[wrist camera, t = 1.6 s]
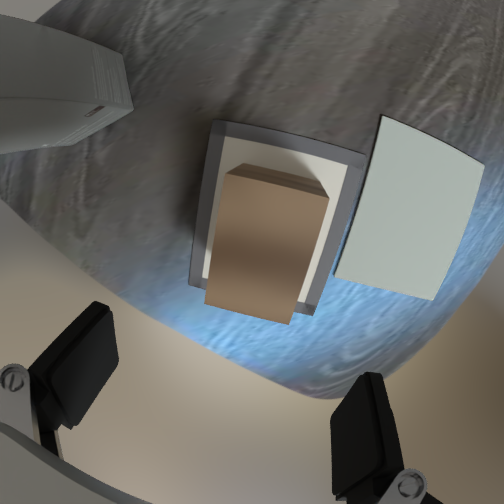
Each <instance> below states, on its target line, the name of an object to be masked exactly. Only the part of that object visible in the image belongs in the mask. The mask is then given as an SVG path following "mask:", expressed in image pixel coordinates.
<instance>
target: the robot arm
mask: <svg viewBox="0 0 504 504" xmlns="http://www.w3.org/2000/svg"><path fill="white" fill-rule="evenodd" d="M118 362H119V357H118V351H117V344H116V337H115V329H114V321H113V313H112V311H110V308H109V306H107V305H105V304H102V303H100V302H97V301H94V302H92V303H91V305H89V306H88V307H87V308H86V309H85V310H84V311H83V312H82V313H81V314H80V315H79V316H78V317H77V318H76V319H75V320H74V321H73V322H72V323H71V324H70V325H69V326H68V327H67V328H66V329H65V330H64V331H63V332H62V333H61V334H60V335H59V336H58V337H57V338H56V339H55V340H54V341H53V342H52V343H51V344H50V345H49V346H48V348H47V349H46V350H45V351H44V352H43V353H42V354H41V355H40V356H39V357H38V358H37V359H36V361H35V362H34V363H33V364H32V365H31V366H30V367H29V369H26V368H24V367H23V366H22V365H19V364H9V365H7V366H4V367H3V368H2V369H1V370H0V504H152V503H149V502H146V501H144V500H141V499H139V498H136V497H134V496H132V495H129V494H127V493H124V492H122V491H120V490H118V489H115V488H114V487H111V486H109V485H107V484H105V483H103V482H101V481H99V480H97V479H95V478H93V477H91V476H90V475H88V474H86V473H84V472H83V471H81V470H79V469H77V468H75V467H74V466H72V465H70V464H69V463H67V462H65V461H64V458H63V454H62V449H61V445H60V440H59V435H58V428H59V427H60V425H61V424H62V425H64V426H65V427H67V428H69V429H70V430H71V429H72V428H73V426H77V425H78V424H79V423H80V421H81V420H82V418H83V417H84V415H85V414H86V412H87V411H88V409H89V407H90V406H91V404H92V403H93V401H94V400H95V398H96V397H97V395H98V394H99V392H100V391H101V389H102V388H103V386H104V385H105V383H106V382H107V380H108V379H109V377H110V376H111V374H112V373H113V372H114V370H115V369H116V367H117V365H118ZM330 428H331V453H332V454H331V455H332V493H333V495H336V501H347V504H443V503H442V502H440V501H439V500H437V499H436V498H434V497H433V496H432V495H430V494H428V493H427V492H426V490H427V481H426V478H425V476H424V475H423V474H422V473H421V472H420V471H418V470H416V469H410V468H409V469H404V464H403V458H402V453H401V448H400V443H399V438H398V433H397V429H396V424H395V420H394V416H393V412H392V410H391V408H390V404H389V400H388V396H387V392H386V388H385V385H384V381H383V377H382V375H381V374H380V373H374V372H365V373H364V374H363V375H360V376H359V377H358V378H357V380H356V381H355V383H354V384H353V386H352V387H351V389H350V390H349V392H348V393H347V395H346V396H345V397H344V399H343V400H342V402H341V403H340V404H339V406H338V407H337V408H336V410H335V411H334V413H333V414H332V416H331V420H330Z"/></svg>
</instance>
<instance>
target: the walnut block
mask: <svg viewBox="0 0 504 504" xmlns="http://www.w3.org/2000/svg"><path fill="white" fill-rule="evenodd" d="M329 200H330V198H329V196H328V195H327V193H326V191H325V189H324V188H323V186H322V184H321V182H320V181H317V180H313V179H309V178H305V177H302V176H298V175H294V174H290V173H286V172H281V171H277V170H273V169H269V168H264V167H260V166H255V165H251V164H246V163H242V164H240V165H239V166H237V167H235V168H233V169H232V170H230V171H228V172H226V173H225V176H224V182H223V187H222V193H221V198H220V204H219V210H218V216H217V222H216V228H215V234H214V241H213V247H212V254H211V260H210V267H209V274H208V281H207V288H206V295H205V302H204V304H207V305H211V306H215V307H218V308H222V309H226V310H230V311H233V312H237V313H241V314H245V315H249V316H253V317H257V318H261V319H266V320H270V321H274V322H278V323H283V324H287V325H289V323H290V320H291V317H292V315H293V312H294V309H295V306H296V303H297V300H298V298H299V295H300V292H301V289H302V286H303V283H304V280H305V277H306V274H307V271H308V268H309V265H310V262H311V259H312V256H313V253H314V249H315V246H316V243H317V240H318V237H319V233H320V230H321V227H322V223H323V220H324V217H325V213H326V210H327V207H328V203H329Z"/></svg>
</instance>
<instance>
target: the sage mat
mask: <svg viewBox="0 0 504 504" xmlns="http://www.w3.org/2000/svg"><path fill="white" fill-rule="evenodd" d="M483 170H484V165H483V164H481V163H480V162H478V161H476V160H475V159H473V158H471V157H469V156H468V155H466V154H464V153H462V152H461V151H459V150H457V149H455V148H453V147H451V146H449V145H447V144H445V143H444V142H442V141H440V140H438V139H436V138H433V137H431V136H429V135H427V134H425V133H423V132H421V131H418V130H416V129H414V128H412V127H409V126H407V125H405V124H402V123H400V122H398V121H395V120H393V119H390V118H387V117H385V116H382V117H381V122H380V126H379V130H378V135H377V139H376V143H375V147H374V151H373V155H372V158H371V162H370V166H369V170H368V173H367V177H366V180H365V184H364V187H363V191H362V194H361V197H360V201H359V204H358V207H357V210H356V213H355V217H354V220H353V223H352V226H351V229H350V232H349V235H348V238H347V241H346V244H345V246H344V249H343V252H342V255H341V258H340V261H339V263H338V266H337V269H336V271H335V274H334V277H336V278H340V279H344V280H348V281H352V282H356V283H360V284H365V285H369V286H373V287H377V288H381V289H385V290H390V291H394V292H398V293H402V294H406V295H410V296H415V297H419V298H423V299H427V300H431V301H433V299H434V298H435V296H436V294H437V292H438V290H439V288H440V286H441V284H442V282H443V280H444V278H445V275H446V273H447V271H448V269H449V267H450V265H451V262H452V260H453V258H454V256H455V253H456V251H457V248H458V246H459V244H460V241H461V239H462V236H463V233H464V231H465V228H466V225H467V223H468V220H469V217H470V214H471V211H472V208H473V205H474V202H475V199H476V196H477V192H478V189H479V185H480V182H481V178H482V174H483Z"/></svg>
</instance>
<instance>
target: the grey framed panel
mask: <svg viewBox="0 0 504 504" xmlns="http://www.w3.org/2000/svg"><path fill="white" fill-rule="evenodd" d="M365 159H366V155H363V154H360V153H357V152H354V151H351V150H348V149H344V148H341V147H338V146H334V145H331V144H327V143H324V142H320V141H317V140H313V139H309V138H305V137H301V136H297V135H293V134H289V133H285V132H280V131H276V130H271V129H266V128H262V127H257V126H251V125H246V124H241V123H235V122H229V121H223V120H216V119H213V122H212V127H211V132H210V138H209V143H208V149H207V154H206V160H205V166H204V172H203V178H202V185H201V191H200V198H199V205H198V212H197V219H196V226H195V234H194V242H193V250H192V259H191V268H190V277H189V285H190V286H194V287H198V288H201V289H205V290H206V288H207V281H208V274H209V267H210V260H211V254H212V247H213V241H214V234H215V228H216V222H217V216H218V210H219V204H220V198H221V193H222V187H223V182H224V176H225V173H226V172H228V171H230V170H232V169H233V168H235V167H237V166H239V165H240V164H242V163H246V164H251V165H255V166H260V167H264V168H269V169H273V170H277V171H281V172H286V173H290V174H294V175H298V176H302V177H305V178H309V179H313V180H317V181H320V182H321V184H322V186H323V188H324V189H325V191H326V193H327V195H328V196H329V198H330V200H329V203H328V207H327V210H326V213H325V217H324V220H323V223H322V227H321V230H320V233H319V237H318V240H317V243H316V246H315V249H314V253H313V256H312V259H311V262H310V265H309V268H308V271H307V274H306V277H305V280H304V283H303V286H302V289H301V292H300V295H299V298H298V300H297V303H296V306H295V309H294V312H297V313H302V314H306V315H311V316H313V314H314V312H315V309H316V307H317V304H318V302H319V299H320V297H321V294H322V292H323V289H324V286H325V284H326V281H327V278H328V276H329V273H330V270H331V267H332V265H333V262H334V259H335V256H336V253H337V250H338V248H339V245H340V242H341V239H342V236H343V233H344V230H345V227H346V224H347V220H348V217H349V214H350V211H351V208H352V204H353V201H354V198H355V194H356V191H357V188H358V184H359V181H360V177H361V174H362V170H363V166H364V163H365Z"/></svg>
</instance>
